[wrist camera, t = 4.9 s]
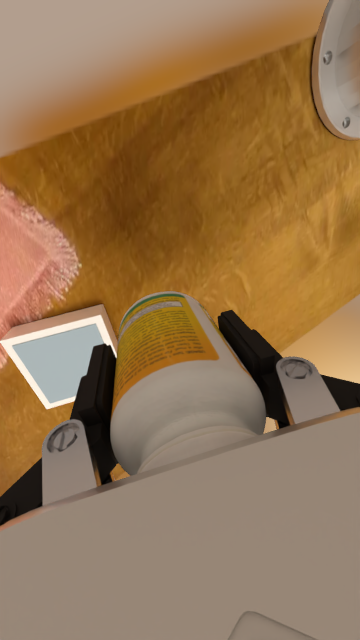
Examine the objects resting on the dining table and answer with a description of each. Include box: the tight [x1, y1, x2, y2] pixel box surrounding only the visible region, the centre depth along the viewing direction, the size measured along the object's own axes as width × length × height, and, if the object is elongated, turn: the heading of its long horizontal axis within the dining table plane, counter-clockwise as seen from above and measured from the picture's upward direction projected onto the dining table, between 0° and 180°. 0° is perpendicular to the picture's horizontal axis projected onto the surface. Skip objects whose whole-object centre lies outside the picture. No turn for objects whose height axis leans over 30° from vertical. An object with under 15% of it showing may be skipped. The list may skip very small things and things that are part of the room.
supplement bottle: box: [110, 291, 266, 476], centre depth 9 cm, size 5×5×10 cm
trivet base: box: [0, 304, 118, 409], centre depth 26 cm, size 10×10×3 cm
